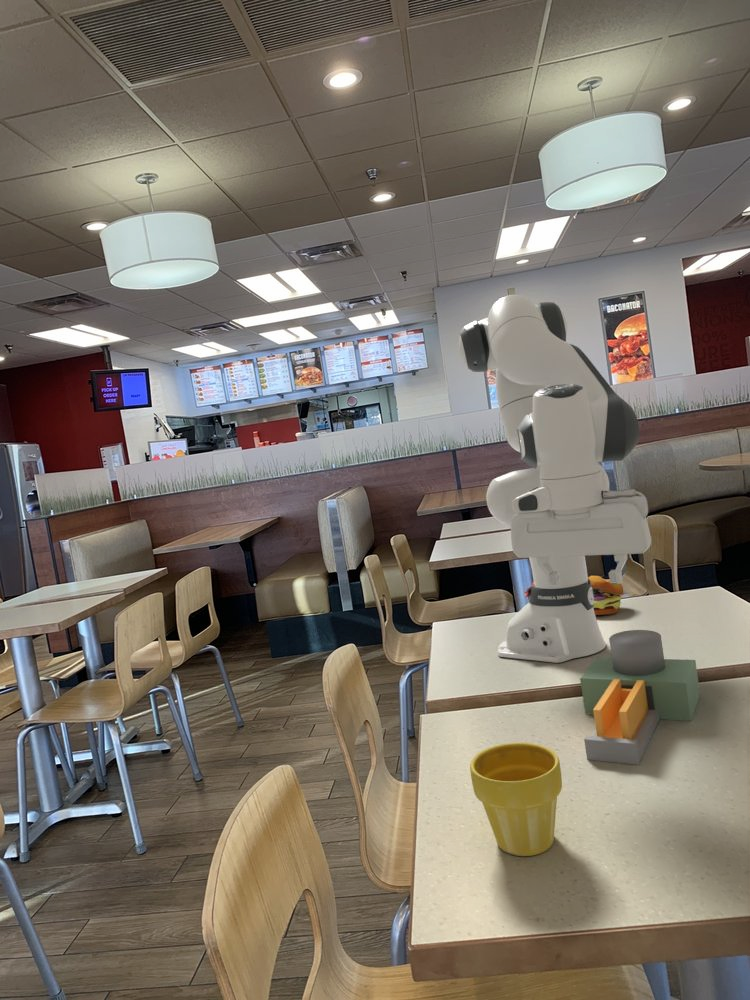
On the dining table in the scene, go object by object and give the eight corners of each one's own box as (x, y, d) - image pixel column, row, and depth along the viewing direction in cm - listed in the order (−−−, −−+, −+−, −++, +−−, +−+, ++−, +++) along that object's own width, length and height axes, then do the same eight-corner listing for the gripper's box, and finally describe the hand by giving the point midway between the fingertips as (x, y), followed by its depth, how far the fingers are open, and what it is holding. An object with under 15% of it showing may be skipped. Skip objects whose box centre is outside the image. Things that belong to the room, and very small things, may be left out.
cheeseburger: (568, 614, 172) (570, 573, 173) (602, 614, 176) (604, 574, 177) (596, 620, 163) (598, 577, 163) (631, 619, 167) (633, 578, 167)
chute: (598, 743, 100) (593, 709, 99) (618, 709, 110) (613, 679, 109) (631, 746, 97) (626, 711, 97) (648, 711, 107) (644, 680, 107)
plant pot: (550, 808, 88) (538, 734, 87) (586, 853, 78) (573, 769, 77) (471, 827, 86) (459, 752, 86) (498, 876, 76) (484, 791, 76)
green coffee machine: (556, 756, 101) (545, 683, 100) (601, 690, 122) (592, 629, 121) (673, 768, 92) (662, 688, 92) (700, 695, 113) (691, 630, 113)
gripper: (649, 484, 101) (660, 576, 102) (515, 495, 112) (527, 578, 113) (641, 491, 95) (652, 588, 97) (501, 502, 107) (514, 589, 108)
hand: (584, 583), depth 105 cm, fingers open, 8 cm apart
